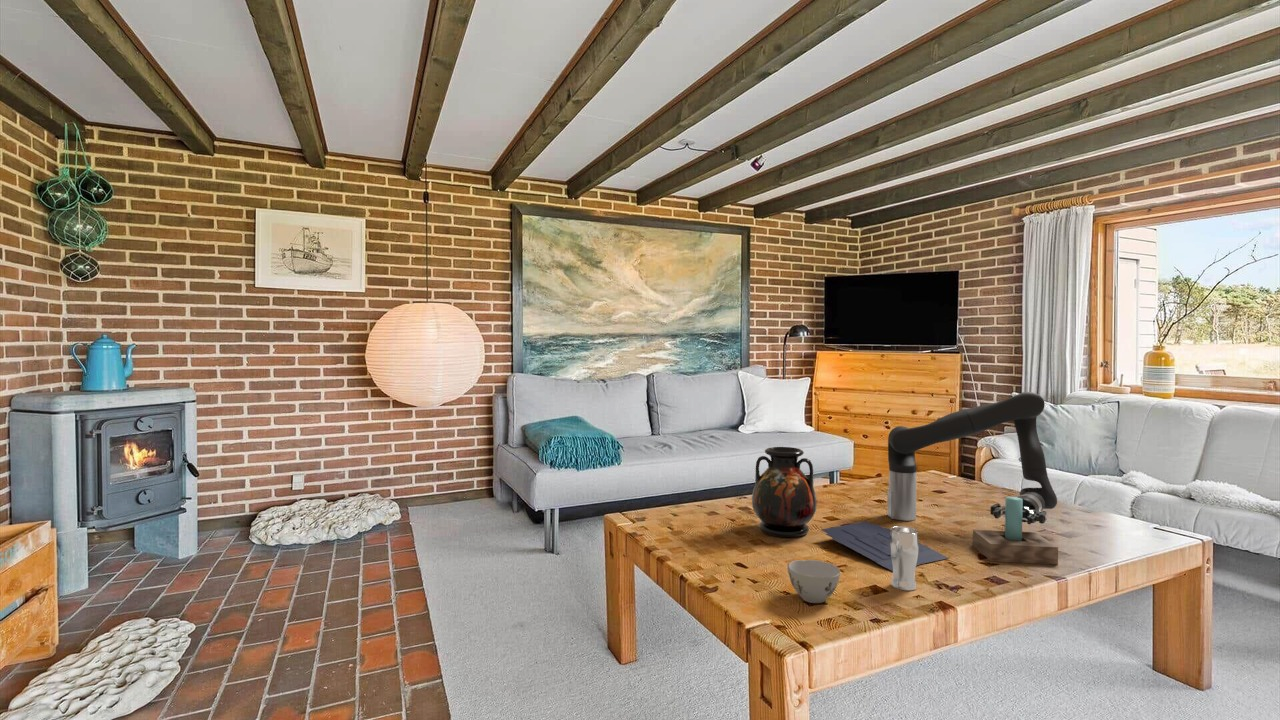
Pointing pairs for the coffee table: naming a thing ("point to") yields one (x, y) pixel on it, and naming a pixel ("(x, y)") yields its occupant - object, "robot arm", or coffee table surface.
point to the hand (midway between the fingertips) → (1012, 517)
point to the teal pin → (1013, 518)
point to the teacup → (813, 579)
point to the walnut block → (1015, 547)
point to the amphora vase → (784, 493)
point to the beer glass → (904, 557)
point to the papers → (875, 543)
